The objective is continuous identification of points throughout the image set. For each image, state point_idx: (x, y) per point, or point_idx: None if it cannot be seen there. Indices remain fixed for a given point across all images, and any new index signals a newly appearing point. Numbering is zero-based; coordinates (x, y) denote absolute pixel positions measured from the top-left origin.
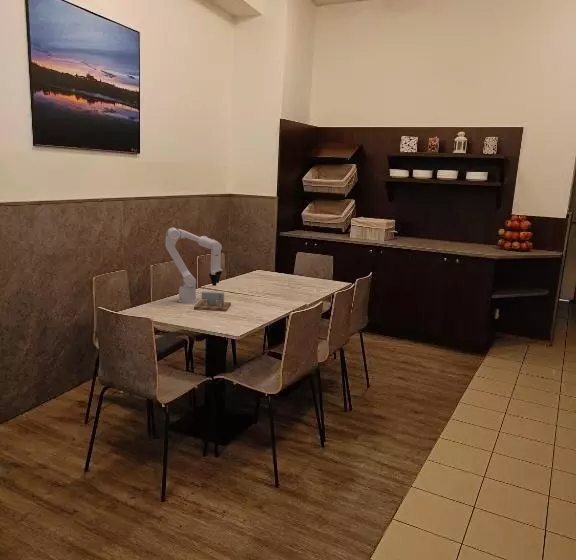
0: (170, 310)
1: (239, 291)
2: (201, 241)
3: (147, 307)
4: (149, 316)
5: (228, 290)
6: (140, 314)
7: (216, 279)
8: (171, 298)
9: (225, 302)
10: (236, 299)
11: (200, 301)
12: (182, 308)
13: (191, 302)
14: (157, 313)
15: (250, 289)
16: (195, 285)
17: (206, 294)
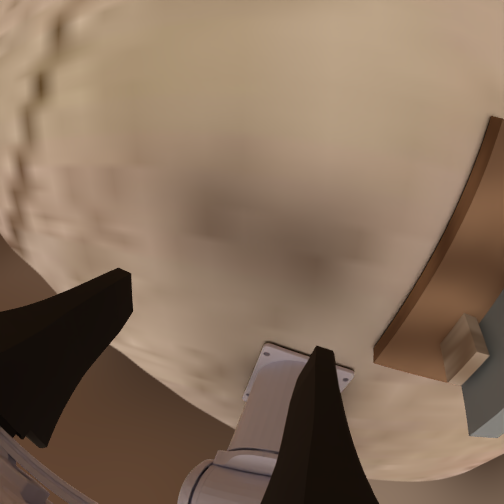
0: (444, 441)
1: (25, 45)
2: None
3: (366, 474)
4: (474, 465)
5: (14, 117)
6: (440, 478)
7: (355, 460)
8: (227, 418)
9: (495, 174)
10: (244, 13)
11: (395, 361)
12: (439, 415)
13: (346, 385)
14: (457, 459)
15: (3, 4)
16: (266, 458)
17: None
